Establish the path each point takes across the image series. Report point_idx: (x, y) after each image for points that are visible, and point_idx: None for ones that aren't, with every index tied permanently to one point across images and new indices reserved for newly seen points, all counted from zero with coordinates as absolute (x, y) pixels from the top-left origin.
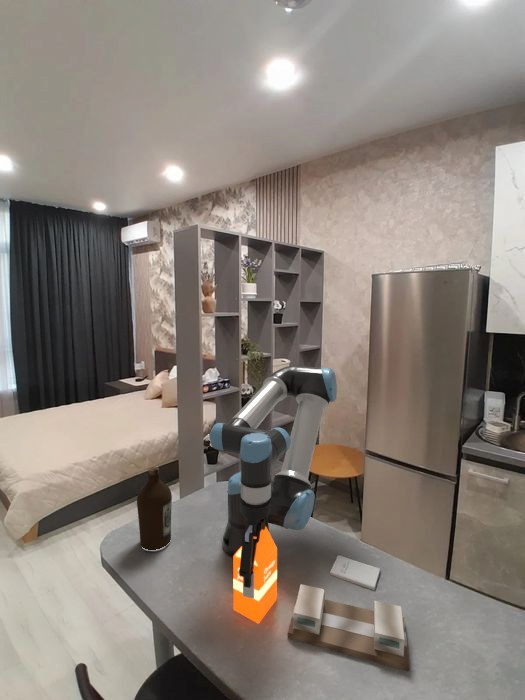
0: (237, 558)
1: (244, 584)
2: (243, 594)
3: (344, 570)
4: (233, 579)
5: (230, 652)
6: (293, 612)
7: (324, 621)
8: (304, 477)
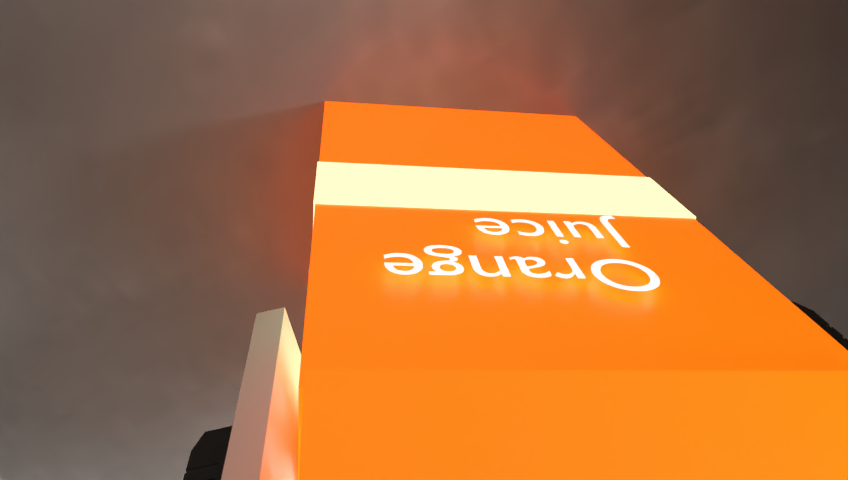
0: (299, 453)
1: (192, 463)
2: (257, 326)
3: None
4: (313, 202)
5: (51, 257)
6: None
7: None
8: None
